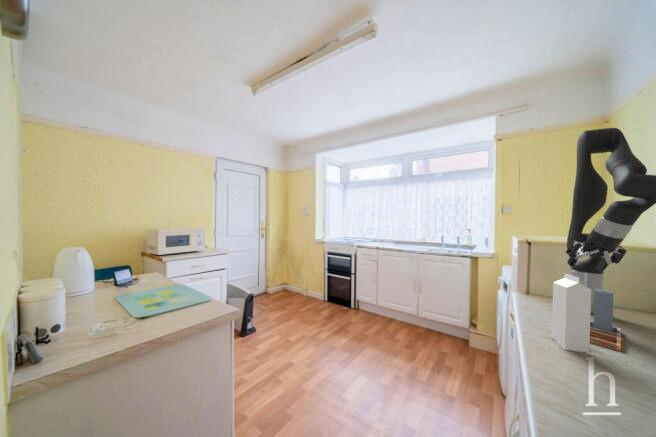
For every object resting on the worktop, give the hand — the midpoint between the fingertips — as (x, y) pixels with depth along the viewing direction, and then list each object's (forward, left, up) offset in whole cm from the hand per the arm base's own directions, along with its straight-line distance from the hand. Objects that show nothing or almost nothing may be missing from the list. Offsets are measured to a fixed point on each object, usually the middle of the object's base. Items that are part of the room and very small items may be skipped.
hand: (584, 267), depth 88 cm
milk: (+26, -1, -22) cm, 34 cm away
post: (+6, +5, -20) cm, 22 cm away
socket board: (+11, +5, -21) cm, 25 cm away
